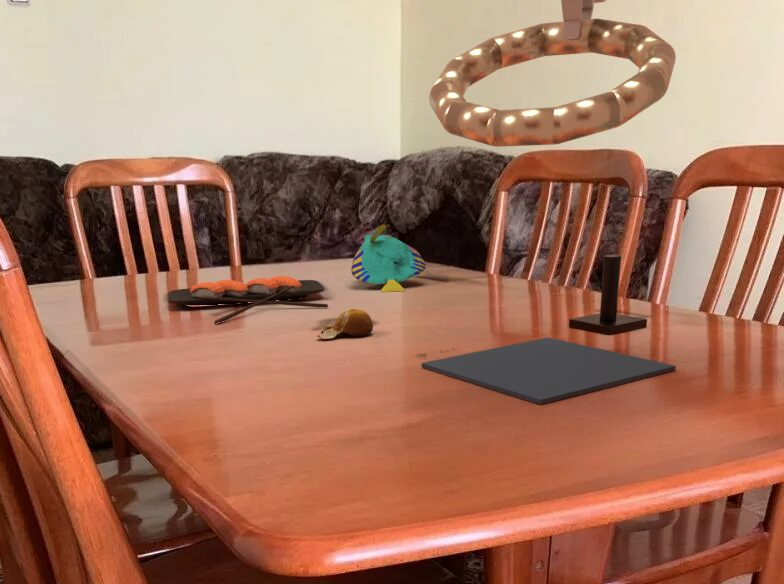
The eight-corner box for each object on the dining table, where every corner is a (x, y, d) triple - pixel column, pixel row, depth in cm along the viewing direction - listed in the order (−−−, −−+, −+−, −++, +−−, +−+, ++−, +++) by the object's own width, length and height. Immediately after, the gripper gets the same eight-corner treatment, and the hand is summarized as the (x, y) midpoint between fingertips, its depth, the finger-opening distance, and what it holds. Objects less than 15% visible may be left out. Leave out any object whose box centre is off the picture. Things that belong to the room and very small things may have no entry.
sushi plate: (316, 288, 168) (315, 269, 166) (342, 314, 141) (340, 291, 139) (170, 299, 162) (167, 279, 161) (168, 328, 136) (164, 304, 134)
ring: (468, 55, 98) (465, 25, 96) (684, 38, 90) (687, 5, 87) (405, 155, 84) (400, 124, 82) (655, 147, 76) (656, 111, 73)
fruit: (322, 329, 130) (320, 305, 128) (375, 328, 129) (374, 304, 128) (316, 341, 122) (314, 316, 121) (371, 339, 122) (370, 314, 120)
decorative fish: (346, 209, 167) (419, 204, 168) (349, 262, 177) (419, 258, 178) (352, 266, 156) (431, 261, 156) (355, 320, 165) (429, 315, 166)
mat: (547, 341, 116) (548, 337, 116) (675, 370, 100) (676, 365, 99) (421, 367, 106) (421, 362, 106) (540, 405, 89) (540, 399, 89)
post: (605, 319, 128) (611, 250, 124) (646, 327, 122) (653, 255, 118) (568, 327, 125) (572, 256, 120) (608, 335, 119) (614, 261, 114)
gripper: (600, -145, 76) (589, 30, 82) (628, -95, 93) (617, 47, 99) (532, -135, 78) (526, 34, 84) (571, -87, 95) (564, 51, 101)
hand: (575, 41), depth 92 cm, fingers closed on ring, 3 cm apart
